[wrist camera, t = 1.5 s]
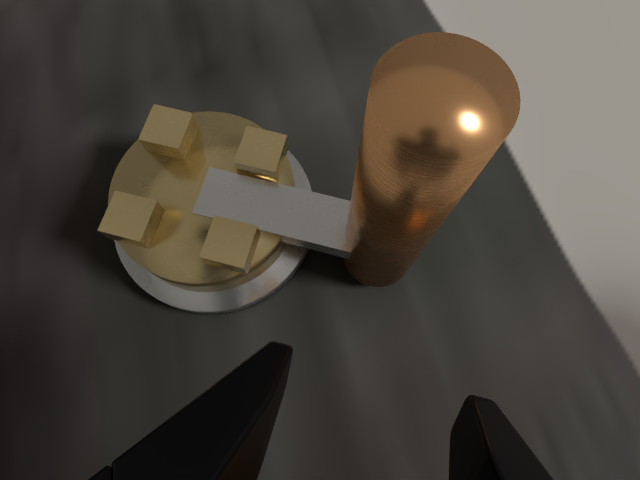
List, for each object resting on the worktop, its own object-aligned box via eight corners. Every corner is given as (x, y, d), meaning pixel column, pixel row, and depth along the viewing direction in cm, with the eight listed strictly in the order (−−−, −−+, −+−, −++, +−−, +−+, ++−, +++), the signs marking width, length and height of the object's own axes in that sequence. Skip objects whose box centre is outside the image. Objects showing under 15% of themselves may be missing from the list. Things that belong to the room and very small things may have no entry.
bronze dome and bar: (105, 269, 21) (-161, 125, 9) (166, 125, 23) (17, -131, 12) (392, 346, 20) (494, 289, 8) (425, 186, 22) (539, -31, 11)
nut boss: (234, 356, 20) (230, 354, 19) (81, 241, 22) (70, 235, 21) (351, 196, 23) (352, 188, 22) (205, 105, 24) (200, 93, 23)
